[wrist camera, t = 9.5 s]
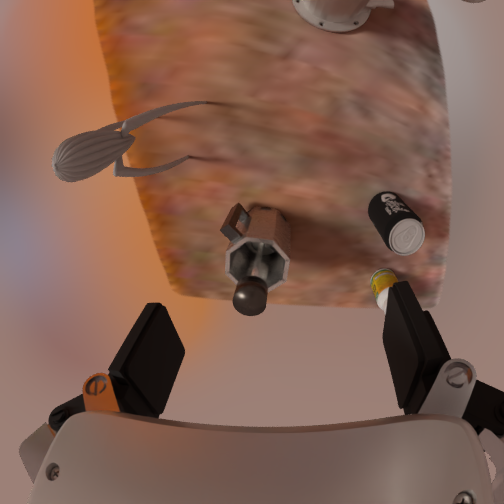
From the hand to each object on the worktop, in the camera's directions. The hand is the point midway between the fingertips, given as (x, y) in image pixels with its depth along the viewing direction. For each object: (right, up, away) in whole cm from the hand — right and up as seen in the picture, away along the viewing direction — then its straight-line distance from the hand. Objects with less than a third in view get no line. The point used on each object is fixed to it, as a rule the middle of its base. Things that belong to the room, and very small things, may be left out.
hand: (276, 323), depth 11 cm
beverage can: (+22, +11, +35) cm, 43 cm away
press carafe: (0, +7, +40) cm, 41 cm away
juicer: (-12, +25, +32) cm, 42 cm away
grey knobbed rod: (+1, +5, +38) cm, 39 cm away
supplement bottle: (+25, -2, +42) cm, 49 cm away
